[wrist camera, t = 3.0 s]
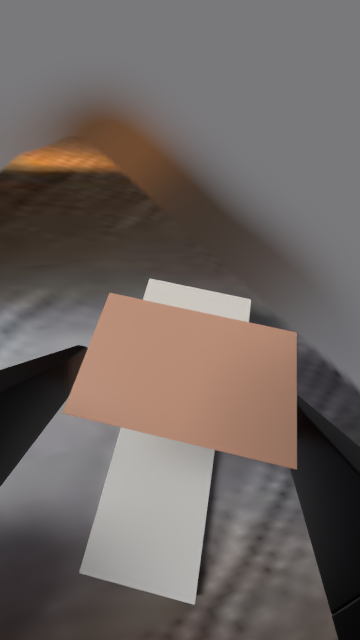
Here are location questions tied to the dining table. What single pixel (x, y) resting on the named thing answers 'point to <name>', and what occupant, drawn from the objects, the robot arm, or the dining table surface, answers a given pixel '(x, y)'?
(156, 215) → the dining table surface
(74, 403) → the stub
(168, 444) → the white long block
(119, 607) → the dining table surface
